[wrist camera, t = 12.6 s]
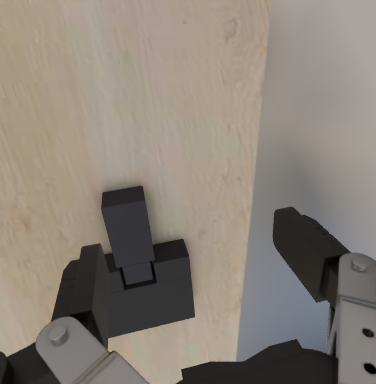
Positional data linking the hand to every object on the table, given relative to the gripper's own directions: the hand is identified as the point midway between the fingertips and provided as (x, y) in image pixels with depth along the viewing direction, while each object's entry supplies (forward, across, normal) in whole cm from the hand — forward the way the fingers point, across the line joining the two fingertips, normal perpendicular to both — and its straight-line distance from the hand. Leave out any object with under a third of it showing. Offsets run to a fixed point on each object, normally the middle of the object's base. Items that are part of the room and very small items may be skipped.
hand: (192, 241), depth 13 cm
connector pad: (+23, +5, +14) cm, 28 cm away
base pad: (+23, +5, +24) cm, 33 cm away
